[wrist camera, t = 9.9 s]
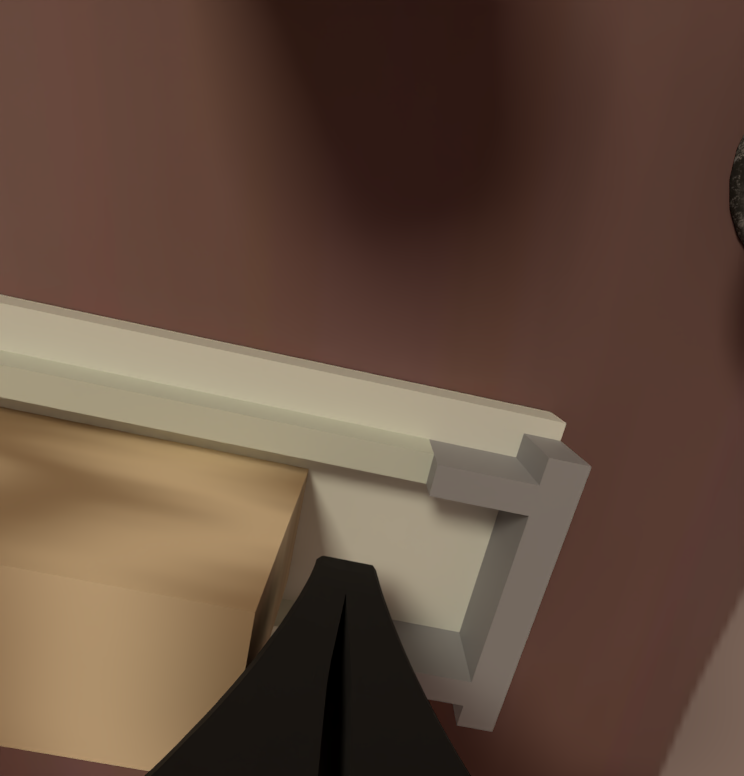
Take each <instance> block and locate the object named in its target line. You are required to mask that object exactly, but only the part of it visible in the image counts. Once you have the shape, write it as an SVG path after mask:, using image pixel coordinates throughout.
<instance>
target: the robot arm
mask: <svg viewBox="0 0 744 776" xmlns="http://www.w3.org/2000/svg"><path fill="white" fill-rule="evenodd" d="M145 776H471V775H470V774H469V772H468V770H467V769H466V767H465V766H464V764H463V762H462V761H461V759H460V757H459V756H458V754H457V752H456V750H455V749H454V747H453V745H452V743H451V742H450V740H449V738H448V736H447V735H446V733H445V731H444V729H443V728H442V726H441V724H440V722H439V720H438V718H437V716H436V715H435V713H434V711H433V709H432V707H431V705H430V703H429V701H428V699H427V697H426V695H425V693H424V691H423V689H422V687H421V685H420V683H419V681H418V679H417V677H416V674H415V672H414V670H413V668H412V666H411V664H410V661H409V659H408V657H407V655H406V652H405V650H404V648H403V645H402V643H401V640H400V638H399V636H398V633H397V631H396V628H395V626H394V623H393V621H392V618H391V615H390V613H389V610H388V607H387V604H386V601H385V599H384V596H383V593H382V589H381V586H380V583H379V579H378V576H377V572H376V569H375V568H374V566H373V565H369V564H364V563H359V562H354V561H349V560H344V559H338V558H333V557H328V556H321V557H319V558H317V559H316V563H315V566H314V568H313V570H312V572H311V575H310V577H309V579H308V580H307V582H306V584H305V586H304V588H303V589H302V591H301V593H300V595H299V596H298V598H297V599H296V601H295V602H294V604H293V605H292V607H291V609H290V610H289V612H288V613H287V615H286V616H285V618H284V619H283V621H282V622H281V624H280V625H279V626H278V628H277V629H276V631H275V632H274V633H273V634H272V636H271V637H270V638H269V640H268V641H267V642H266V644H265V645H264V646H263V648H262V649H261V650H260V652H259V653H258V654H257V656H256V657H255V658H254V659H253V661H252V662H251V663H250V664H249V666H248V667H247V668H246V669H245V670H244V672H243V673H242V674H241V675H240V676H239V678H238V679H237V680H236V681H235V682H234V683H233V685H232V686H231V687H230V688H229V689H228V690H227V691H226V693H225V694H224V695H223V696H222V697H221V698H220V699H219V700H218V702H217V703H216V704H215V705H214V706H213V707H212V708H211V709H210V710H209V711H208V712H207V714H206V715H205V716H204V717H203V718H202V719H201V720H200V721H199V722H198V723H197V724H196V725H195V726H194V727H193V728H192V729H191V730H190V731H189V732H188V733H187V734H186V735H185V736H184V738H183V739H182V740H181V741H180V742H179V743H178V744H177V745H176V746H175V747H174V748H173V749H172V750H171V751H170V752H169V753H168V754H167V755H166V756H165V757H164V758H163V759H162V760H161V761H160V762H159V763H158V764H156V765H155V766H154V767H153V768H152V769H151V770H150V771H149V772H148V773H147V774H146V775H145Z"/></svg>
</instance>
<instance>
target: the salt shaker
mask: <svg viewBox="0 0 744 776" xmlns="http://www.w3.org/2000/svg"><path fill="white" fill-rule="evenodd" d="M730 211H731V214H732V218H733V221H734V225H735V228H736V232H737V235H738V236H739V238H740V239H741V241H742V242H743V244H744V136H743V138H742V140H741V142H740V144H739V146H738V148H737V152H736V156H735V160H734V164H733V168H732V173H731V177H730Z"/></svg>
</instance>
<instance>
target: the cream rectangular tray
mask: <svg viewBox="0 0 744 776" xmlns="http://www.w3.org/2000/svg"><path fill="white" fill-rule="evenodd" d="M0 407H5V408H10V409H15V410H20V411H25V412H29V413H34V414H39V415H44V416H49V417H54V418H59V419H64V420H69V421H74V422H79V423H84V424H89V425H94V426H99V427H104V428H109V429H114V430H119V431H124V432H129V433H133V434H138V435H143V436H148V437H153V438H158V439H163V440H168V441H173V442H178V443H183V444H188V445H193V446H198V447H203V448H208V449H213V450H218V451H223V452H228V453H233V454H237V455H242V456H247V457H252V458H257V459H262V460H267V461H272V462H277V463H282V464H287V465H292V466H297V467H302V468H307V469H309V471H308V477H307V482H306V487H305V492H304V497H303V503H302V508H301V513H300V518H299V523H298V529H297V534H296V539H295V544H294V549H293V555H292V560H291V565H290V570H289V575H288V580H287V584H286V587H285V590H284V594H283V597H282V600H281V603H280V607H279V610H278V613H277V616H276V620H275V623H274V626H273V630H272V633H271V636H272V634H273V633H274V632H275V631H276V629H277V628H278V626H279V625H280V624H281V622H282V621H283V619H284V618H285V616H286V615H287V613H288V612H289V610H290V609H291V607H292V605H293V604H294V602H295V601H296V599H297V598H298V596H299V595H300V593H301V591H302V589H303V588H304V586H305V584H306V582H307V580H308V579H309V577H310V575H311V572H312V570H313V568H314V566H315V563H316V559H317V558H319V557H321V556H328V557H333V558H338V559H344V560H349V561H354V562H359V563H364V564H369V565H373V566H374V568H375V569H376V572H377V576H378V579H379V583H380V586H381V589H382V593H383V596H384V599H385V601H386V604H387V607H388V610H389V613H390V615H391V618H392V621H393V623H394V626H395V628H396V631H397V633H398V636H399V638H400V640H401V643H402V645H403V648H404V650H405V652H406V655H407V657H408V659H409V661H410V664H411V666H412V668H413V670H414V672H415V674H416V677H417V679H418V681H419V683H420V685H421V687H422V689H423V691H424V693H425V695H426V697H427V699H429V700H435V701H440V702H446V703H451V704H453V708H454V714H455V719H456V725H457V726H463V727H468V728H474V729H479V730H485V731H490V732H492V731H493V728H494V726H495V723H496V720H497V718H498V715H499V712H500V710H501V707H502V704H503V702H504V699H505V696H506V694H507V691H508V688H509V686H510V683H511V680H512V678H513V675H514V672H515V670H516V667H517V664H518V662H519V659H520V656H521V654H522V651H523V648H524V646H525V643H526V640H527V638H528V635H529V632H530V630H531V627H532V624H533V622H534V619H535V616H536V614H537V611H538V608H539V606H540V603H541V600H542V598H543V595H544V592H545V590H546V587H547V584H548V582H549V579H550V576H551V574H552V571H553V568H554V566H555V563H556V560H557V558H558V555H559V552H560V550H561V547H562V544H563V542H564V539H565V536H566V534H567V531H568V528H569V526H570V523H571V520H572V518H573V515H574V512H575V510H576V507H577V504H578V502H579V499H580V496H581V494H582V491H583V488H584V486H585V483H586V480H587V478H588V475H589V472H590V470H591V466H590V465H589V464H588V463H586V462H585V461H584V460H583V459H582V458H580V457H579V456H578V455H577V454H576V453H574V452H573V451H572V450H571V449H570V448H568V447H567V446H566V445H565V444H564V443H562V442H561V441H560V440H561V437H562V435H563V432H564V429H565V426H566V423H565V422H564V421H562V420H561V419H560V418H558V417H557V416H555V415H554V414H553V413H551V412H548V411H543V410H539V409H534V408H529V407H525V406H520V405H515V404H511V403H506V402H501V401H497V400H492V399H487V398H483V397H478V396H473V395H469V394H464V393H459V392H455V391H450V390H445V389H440V388H436V387H431V386H426V385H422V384H417V383H412V382H408V381H403V380H398V379H394V378H389V377H384V376H380V375H375V374H370V373H366V372H361V371H356V370H352V369H347V368H342V367H337V366H333V365H328V364H323V363H319V362H314V361H309V360H305V359H300V358H295V357H291V356H286V355H281V354H277V353H272V352H267V351H263V350H258V349H253V348H249V347H244V346H239V345H234V344H230V343H225V342H220V341H216V340H211V339H206V338H202V337H197V336H192V335H188V334H183V333H178V332H174V331H169V330H164V329H160V328H155V327H150V326H145V325H141V324H136V323H131V322H127V321H122V320H117V319H113V318H108V317H103V316H99V315H94V314H89V313H85V312H80V311H75V310H71V309H66V308H61V307H57V306H52V305H47V304H42V303H38V302H33V301H28V300H24V299H19V298H14V297H10V296H5V295H0ZM271 636H270V637H271Z"/></svg>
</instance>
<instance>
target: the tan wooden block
mask: <svg viewBox="0 0 744 776" xmlns="http://www.w3.org/2000/svg"><path fill="white" fill-rule="evenodd" d="M308 471H309V469H307V468H302V467H297V466H292V465H287V464H282V463H277V462H272V461H267V460H262V459H257V458H252V457H247V456H242V455H237V454H233V453H228V452H223V451H218V450H213V449H208V448H203V447H198V446H193V445H188V444H183V443H178V442H173V441H168V440H163V439H158V438H153V437H148V436H143V435H138V434H133V433H129V432H124V431H119V430H114V429H109V428H104V427H99V426H94V425H89V424H84V423H79V422H74V421H69V420H64V419H59V418H54V417H49V416H44V415H39V414H34V413H29V412H25V411H20V410H15V409H10V408H5V407H0V746H4V747H10V748H15V749H21V750H27V751H33V752H39V753H45V754H51V755H57V756H63V757H69V758H75V759H81V760H86V761H92V762H98V763H104V764H110V765H116V766H122V767H128V768H134V769H140V770H146V771H150V770H151V769H152V768H153V767H154V766H155V765H156V764H158V763H159V762H160V761H161V760H162V759H163V758H164V757H165V756H166V755H167V754H168V753H169V752H170V751H171V750H172V749H173V748H174V747H175V746H176V745H177V744H178V743H179V742H180V741H181V740H182V739H183V738H184V736H185V735H186V734H187V733H188V732H189V731H190V730H191V729H192V728H193V727H194V726H195V725H196V724H197V723H198V722H199V721H200V720H201V719H202V718H203V717H204V716H205V715H206V714H207V712H208V711H209V710H210V709H211V708H212V707H213V706H214V705H215V704H216V703H217V702H218V700H219V699H220V698H221V697H222V696H223V695H224V694H225V693H226V691H227V690H228V689H229V688H230V687H231V686H232V685H233V683H234V682H235V681H236V680H237V679H238V678H239V676H240V675H241V674H242V673H243V672H244V670H245V669H246V668H247V667H248V666H249V664H250V663H251V662H252V661H253V659H254V658H255V657H256V656H257V654H258V653H259V652H260V650H261V649H262V648H263V646H264V645H265V644H266V642H267V641H268V640H269V638H270V636H271V633H272V630H273V626H274V623H275V620H276V616H277V613H278V610H279V607H280V603H281V600H282V597H283V594H284V590H285V587H286V584H287V580H288V575H289V570H290V565H291V560H292V555H293V549H294V544H295V539H296V534H297V529H298V523H299V518H300V513H301V508H302V503H303V497H304V492H305V487H306V482H307V477H308Z"/></svg>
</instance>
